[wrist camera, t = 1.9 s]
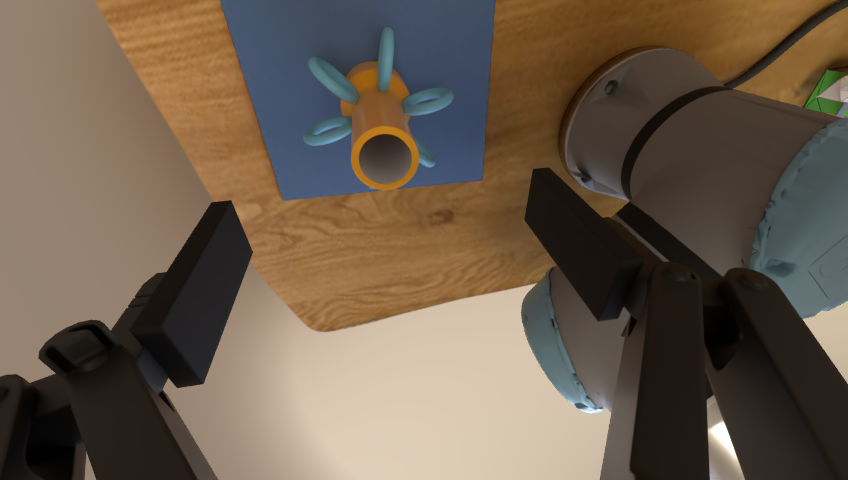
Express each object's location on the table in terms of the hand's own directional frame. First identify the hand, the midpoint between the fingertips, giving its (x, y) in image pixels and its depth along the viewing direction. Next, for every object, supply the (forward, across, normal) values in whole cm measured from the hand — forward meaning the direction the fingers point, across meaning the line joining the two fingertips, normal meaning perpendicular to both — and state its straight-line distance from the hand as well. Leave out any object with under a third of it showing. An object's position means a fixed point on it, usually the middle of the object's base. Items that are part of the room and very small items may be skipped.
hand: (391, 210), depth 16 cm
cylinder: (+21, 0, 0) cm, 21 cm away
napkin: (+21, 0, 0) cm, 21 cm away
